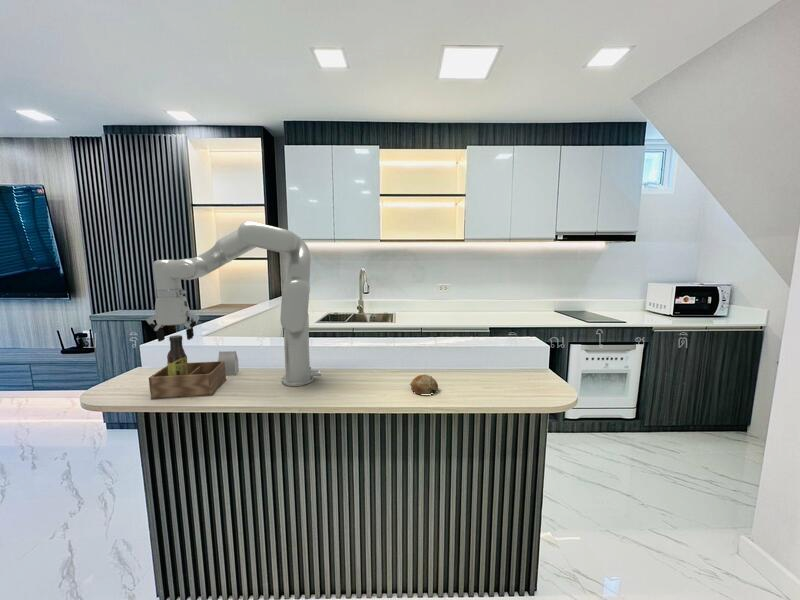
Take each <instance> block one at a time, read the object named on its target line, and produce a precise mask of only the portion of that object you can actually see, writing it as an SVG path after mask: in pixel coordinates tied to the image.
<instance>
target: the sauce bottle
mask: <svg viewBox="0 0 800 600" xmlns="http://www.w3.org/2000/svg"><path fill="white" fill-rule="evenodd" d="M168 338H169V343H170V344H169V345H170V347H169V349H170V350H169V351H168V353H167V355H166V357H167V362H166V363H167V365H168V376H179V375H188V364H187V363H188V356H187V354H186V351H185V349H184V347H183V335H180V334H178V335H171V336H169V337H168ZM167 365H166V366H167Z"/></svg>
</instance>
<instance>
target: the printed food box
mask: <svg viewBox="0 0 800 600" xmlns="http://www.w3.org/2000/svg"><path fill="white" fill-rule="evenodd" d="M217 361H225V373H226V375H233V376H237V375H238V374H239V373H240V368H239V366H240V365H239V359H238V354H237V350H236V351H235V350H233V351H232V350H230V351H229V350H227V351H222V350H221V351H219V352H218V358H217ZM238 372H239V373H238ZM237 373H238V374H237ZM236 374H237V375H236Z"/></svg>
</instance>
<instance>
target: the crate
mask: <svg viewBox="0 0 800 600" xmlns="http://www.w3.org/2000/svg"><path fill="white" fill-rule="evenodd" d="M187 364H188V375H179V376H168V365H165V366H164V367H162V368H161V369H160V370H158V371H156V373H154V374H152V375H151V376H149V377H148V384H149V393H150V394H149V395H150V400H161V399H163V400H165V399H178V398H180V399H181V398H193V397H194V398H199V397H209V396H210V397H212V396H213V395H215V393H216V392H217V391H218V390H219V389H220V387H221V386H222V385H223V384H224V383H225V382H226V381H225V380H227V378H226V377H227V376H226V373H225V361H218V360H217V361H200V362H187ZM224 381H225V382H224ZM217 389H218V390H217Z"/></svg>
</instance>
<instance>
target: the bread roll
mask: <svg viewBox="0 0 800 600" xmlns="http://www.w3.org/2000/svg"><path fill="white" fill-rule="evenodd" d="M411 380H412V381H411V382H410V384H409V386H410V388H411V390H412V392H413V391H414V392H415V393H418V394H417V395H419V394H431V393H434V392H435V393H437V392H438V390H439V385H438V382H437V381H436V379H435V378H434V377H433V376H432V375H428V374H420V375H417V376H416V377H414V378H413V379H411ZM436 391H437V392H436ZM414 392H413V393H414ZM415 393H414V394H415ZM435 393H434V394H435Z"/></svg>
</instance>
